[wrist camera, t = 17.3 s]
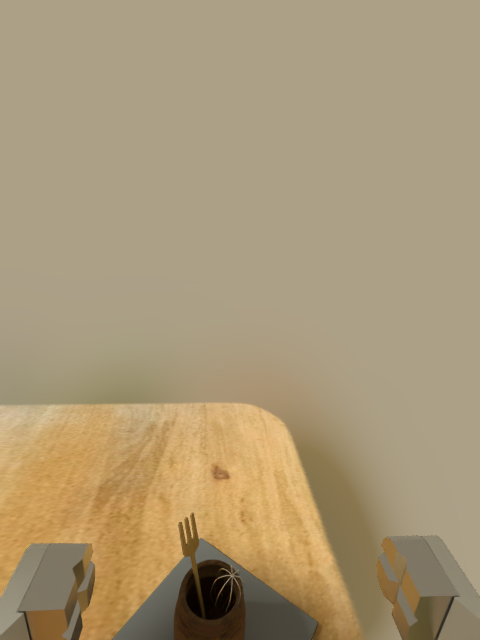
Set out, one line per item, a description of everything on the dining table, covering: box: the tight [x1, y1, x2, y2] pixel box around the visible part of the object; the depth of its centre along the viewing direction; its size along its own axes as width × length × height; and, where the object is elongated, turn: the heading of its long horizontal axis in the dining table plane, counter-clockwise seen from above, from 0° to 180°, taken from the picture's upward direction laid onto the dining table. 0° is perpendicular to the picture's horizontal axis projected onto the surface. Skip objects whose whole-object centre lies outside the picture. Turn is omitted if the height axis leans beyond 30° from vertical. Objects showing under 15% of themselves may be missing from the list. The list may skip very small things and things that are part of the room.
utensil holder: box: [174, 513, 246, 640], centre depth 29 cm, size 6×6×12 cm
